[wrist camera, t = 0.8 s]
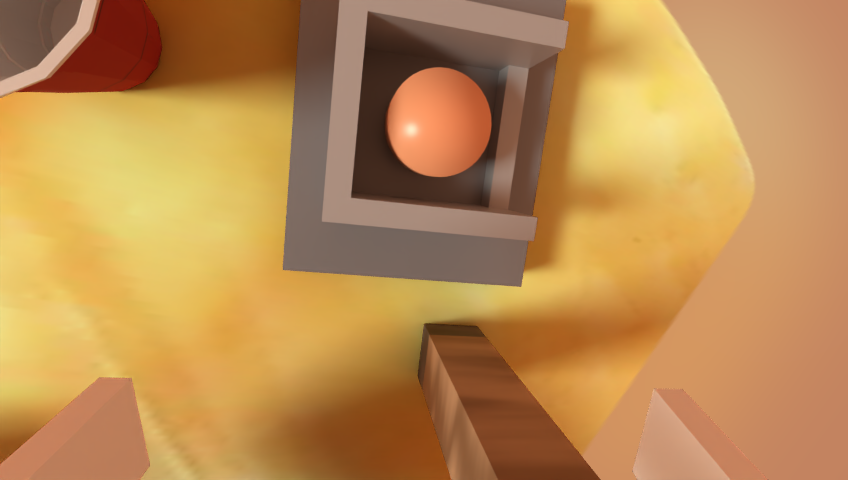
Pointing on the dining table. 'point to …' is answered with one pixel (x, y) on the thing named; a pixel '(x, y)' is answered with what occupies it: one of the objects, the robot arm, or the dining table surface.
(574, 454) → the brown wooden block
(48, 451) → the robot arm
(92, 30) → the plastic cup
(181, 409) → the dining table surface
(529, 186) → the switch panel
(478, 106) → the button
